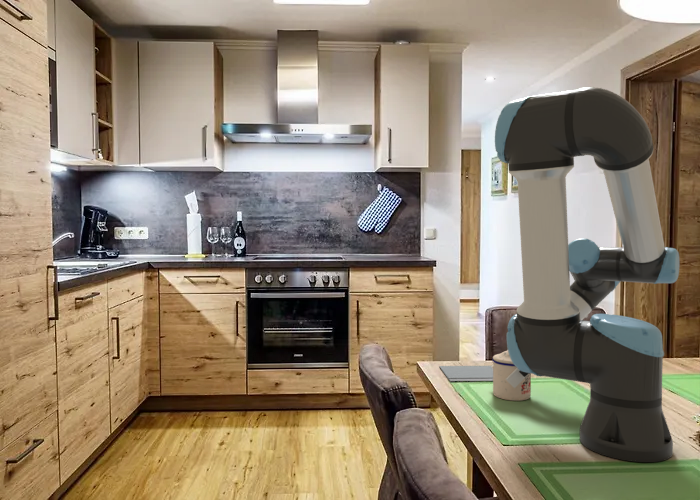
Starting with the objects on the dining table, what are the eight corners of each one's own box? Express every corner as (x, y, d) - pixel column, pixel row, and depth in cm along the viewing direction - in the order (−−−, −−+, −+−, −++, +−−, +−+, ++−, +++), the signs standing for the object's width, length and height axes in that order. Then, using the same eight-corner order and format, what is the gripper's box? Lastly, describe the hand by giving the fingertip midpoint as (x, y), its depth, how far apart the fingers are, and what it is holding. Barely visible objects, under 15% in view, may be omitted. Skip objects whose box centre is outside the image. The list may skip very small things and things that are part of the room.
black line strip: (530, 381, 141) (530, 380, 141) (450, 382, 141) (450, 380, 141) (527, 379, 143) (527, 378, 143) (448, 379, 143) (448, 378, 143)
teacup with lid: (530, 403, 123) (530, 352, 123) (489, 398, 127) (489, 349, 126) (533, 389, 134) (534, 342, 134) (496, 385, 138) (496, 340, 137)
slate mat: (523, 378, 144) (523, 377, 144) (448, 379, 144) (448, 377, 144) (507, 366, 157) (507, 365, 157) (439, 367, 157) (439, 366, 157)
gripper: (600, 332, 118) (530, 403, 118) (557, 316, 142) (498, 375, 142) (577, 308, 118) (506, 379, 118) (537, 296, 142) (478, 355, 142)
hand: (502, 377), depth 130 cm, fingers closed on teacup with lid, 11 cm apart
